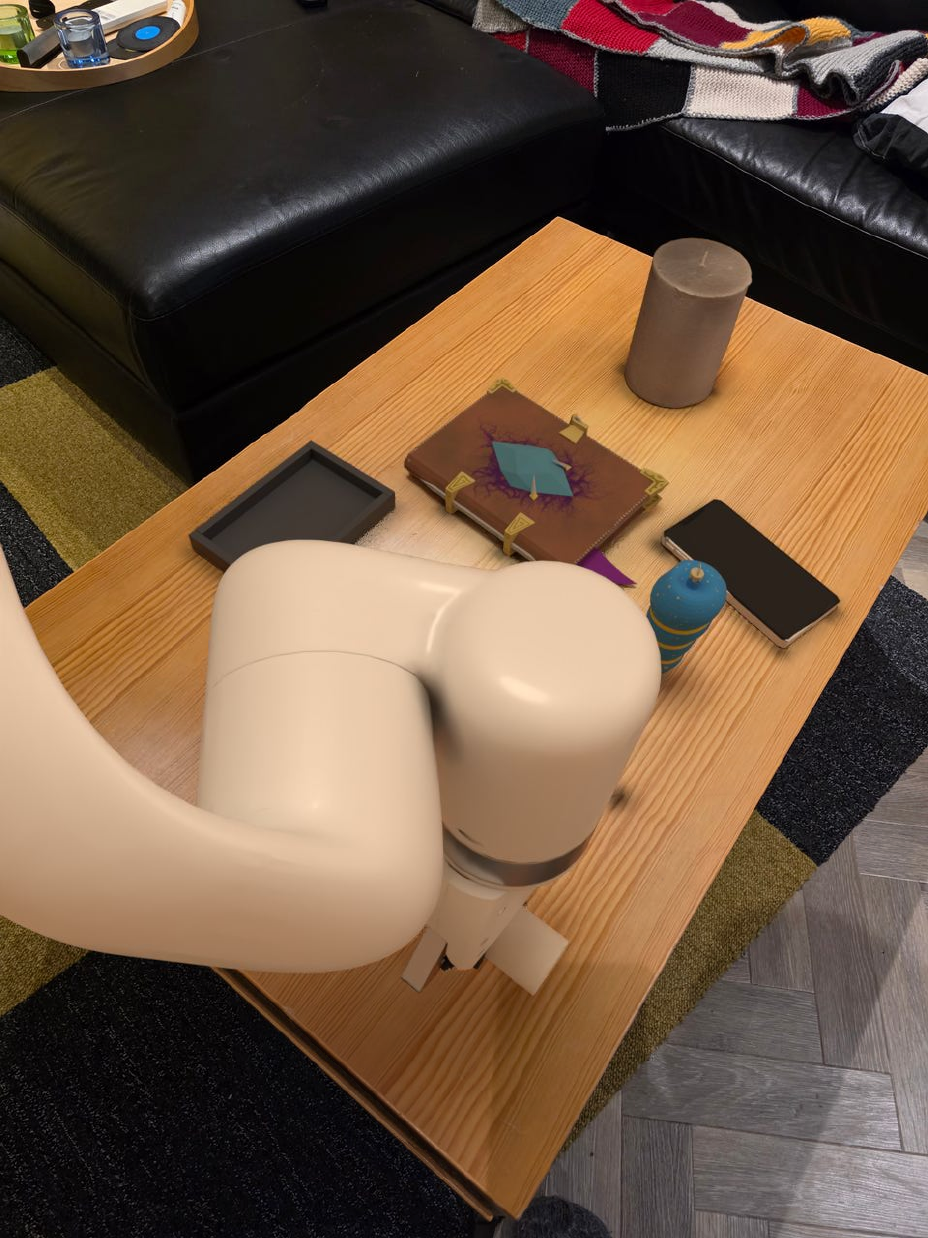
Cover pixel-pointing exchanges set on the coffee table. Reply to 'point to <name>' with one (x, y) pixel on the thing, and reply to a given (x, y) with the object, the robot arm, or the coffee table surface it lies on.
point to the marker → (527, 950)
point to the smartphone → (752, 572)
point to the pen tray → (296, 507)
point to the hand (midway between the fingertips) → (480, 919)
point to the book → (535, 480)
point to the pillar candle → (686, 321)
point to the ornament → (684, 608)
